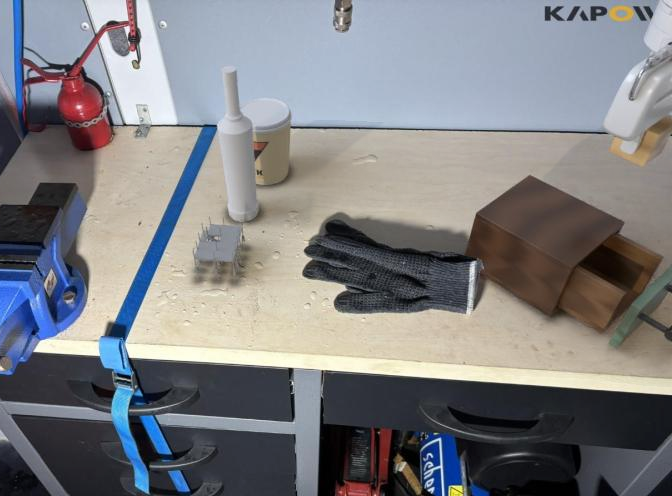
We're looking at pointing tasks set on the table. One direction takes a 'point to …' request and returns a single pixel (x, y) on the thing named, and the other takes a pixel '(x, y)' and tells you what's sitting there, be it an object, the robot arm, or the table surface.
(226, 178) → the bottle
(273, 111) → the beige lidded tub
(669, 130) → the block
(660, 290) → the drawer
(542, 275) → the cabinet
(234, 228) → the building frame
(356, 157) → the table surface
